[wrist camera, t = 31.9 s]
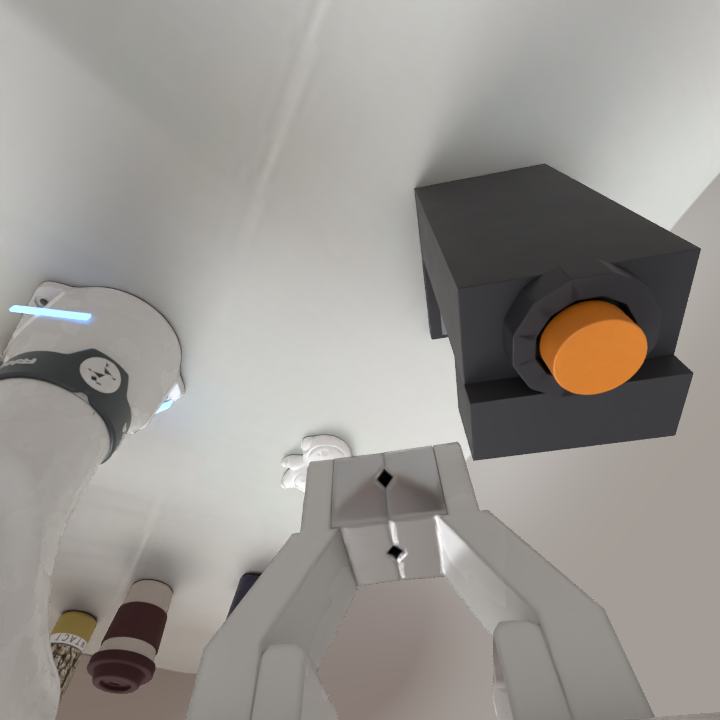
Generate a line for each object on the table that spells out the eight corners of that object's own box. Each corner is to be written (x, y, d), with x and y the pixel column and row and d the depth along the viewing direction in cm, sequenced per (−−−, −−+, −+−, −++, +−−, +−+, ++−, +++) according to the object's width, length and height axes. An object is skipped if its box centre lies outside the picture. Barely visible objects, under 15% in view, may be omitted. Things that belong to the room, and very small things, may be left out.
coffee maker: (542, 315, 49) (667, 488, 29) (430, 332, 50) (476, 510, 30) (550, 169, 41) (734, 273, 21) (414, 195, 42) (464, 315, 22)
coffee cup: (159, 569, 77) (120, 667, 65) (191, 597, 82) (161, 692, 70) (112, 581, 79) (66, 678, 67) (147, 607, 84) (110, 702, 72)
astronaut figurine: (266, 471, 63) (262, 488, 61) (318, 424, 58) (316, 440, 55) (314, 497, 66) (312, 515, 64) (368, 455, 61) (368, 472, 59)
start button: (620, 365, 24) (640, 388, 22) (537, 377, 24) (550, 400, 23) (633, 292, 22) (656, 312, 20) (540, 307, 22) (555, 327, 20)
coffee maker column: (541, 236, 44) (692, 380, 24) (421, 257, 45) (470, 410, 25) (545, 158, 40) (729, 253, 20) (413, 183, 41) (463, 296, 21)
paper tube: (87, 630, 89) (4, 802, 68) (54, 617, 86) (-42, 793, 66) (104, 618, 87) (23, 794, 66) (71, 605, 84) (-24, 784, 63)
